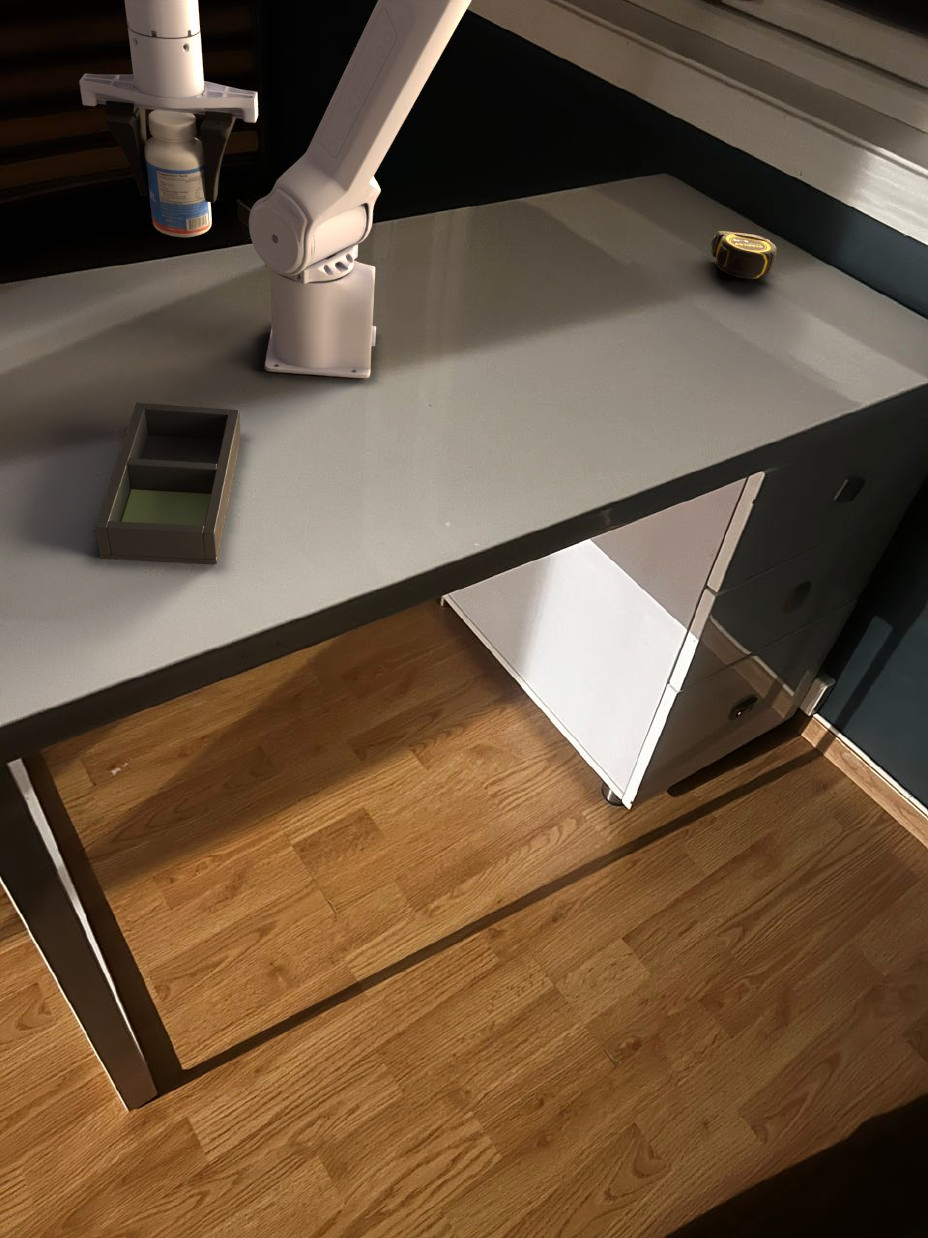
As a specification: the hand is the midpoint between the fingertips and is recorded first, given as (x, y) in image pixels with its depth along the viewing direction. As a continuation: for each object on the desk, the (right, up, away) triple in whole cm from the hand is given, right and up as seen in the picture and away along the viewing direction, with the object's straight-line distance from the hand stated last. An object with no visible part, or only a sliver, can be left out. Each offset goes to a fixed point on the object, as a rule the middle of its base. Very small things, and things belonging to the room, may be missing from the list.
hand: (179, 194), depth 90 cm
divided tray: (+4, -29, -14) cm, 33 cm away
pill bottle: (0, -2, +2) cm, 3 cm away
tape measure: (+58, +2, +26) cm, 64 cm away
